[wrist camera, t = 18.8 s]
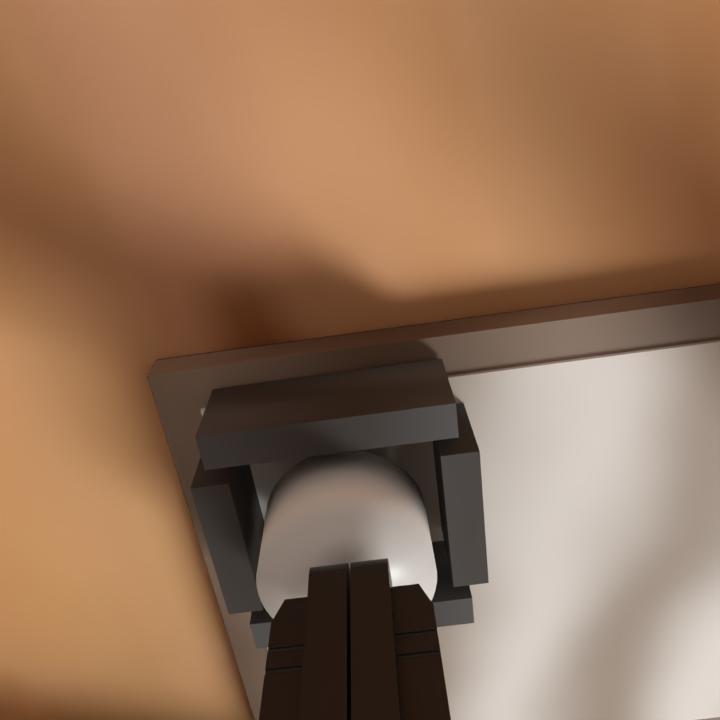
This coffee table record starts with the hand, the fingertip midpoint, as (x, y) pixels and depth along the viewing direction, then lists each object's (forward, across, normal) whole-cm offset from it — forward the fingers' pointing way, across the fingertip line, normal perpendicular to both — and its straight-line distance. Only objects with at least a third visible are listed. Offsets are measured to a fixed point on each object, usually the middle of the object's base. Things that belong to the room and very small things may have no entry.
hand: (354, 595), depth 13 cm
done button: (+2, 0, 0) cm, 3 cm away
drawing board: (+5, -8, +4) cm, 10 cm away
